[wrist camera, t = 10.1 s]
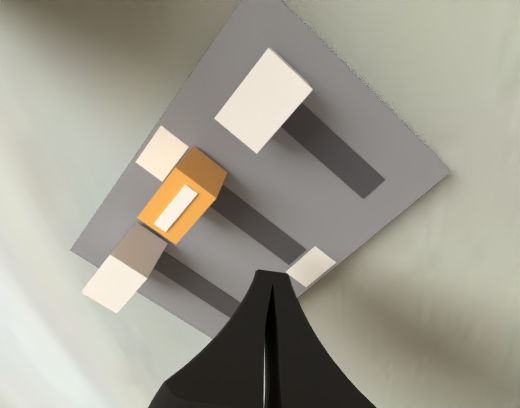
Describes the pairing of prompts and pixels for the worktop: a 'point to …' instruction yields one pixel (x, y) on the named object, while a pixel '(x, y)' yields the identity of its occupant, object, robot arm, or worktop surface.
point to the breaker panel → (258, 174)
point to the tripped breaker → (184, 196)
